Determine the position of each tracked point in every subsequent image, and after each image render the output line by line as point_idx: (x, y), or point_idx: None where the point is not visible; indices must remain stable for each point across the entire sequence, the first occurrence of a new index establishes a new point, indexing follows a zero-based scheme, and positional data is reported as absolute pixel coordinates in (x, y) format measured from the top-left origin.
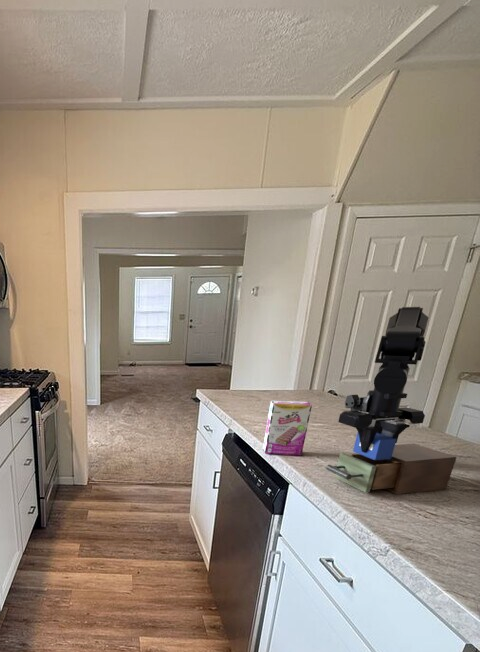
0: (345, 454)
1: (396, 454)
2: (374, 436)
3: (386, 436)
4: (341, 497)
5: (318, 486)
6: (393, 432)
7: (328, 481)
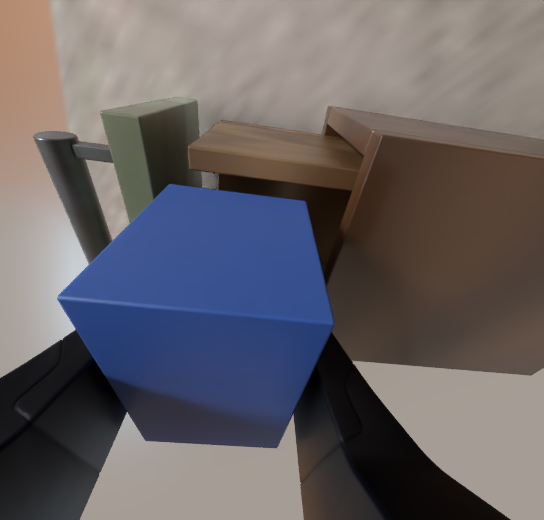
0: (129, 156)
1: (368, 305)
2: (104, 453)
3: (272, 423)
4: (119, 232)
5: (75, 130)
6: (303, 484)
7: (149, 95)
